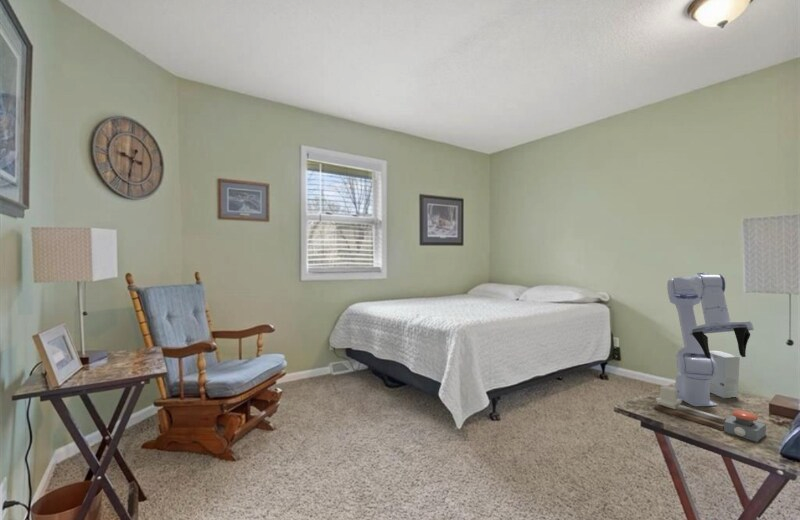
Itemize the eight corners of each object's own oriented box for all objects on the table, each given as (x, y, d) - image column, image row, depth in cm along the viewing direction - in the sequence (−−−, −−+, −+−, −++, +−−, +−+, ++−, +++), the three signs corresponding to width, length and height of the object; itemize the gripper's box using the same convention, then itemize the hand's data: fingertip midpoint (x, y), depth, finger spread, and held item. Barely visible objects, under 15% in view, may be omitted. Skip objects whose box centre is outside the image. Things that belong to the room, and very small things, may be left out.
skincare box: (702, 390, 137) (702, 350, 137) (717, 389, 138) (717, 349, 137) (724, 399, 129) (724, 356, 128) (740, 397, 129) (740, 355, 129)
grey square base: (723, 431, 106) (723, 421, 106) (733, 425, 110) (733, 415, 110) (756, 442, 100) (756, 431, 100) (765, 434, 104) (765, 424, 104)
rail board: (654, 408, 123) (654, 401, 122) (663, 404, 126) (663, 397, 126) (722, 430, 107) (722, 422, 107) (731, 424, 110) (730, 417, 110)
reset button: (729, 424, 106) (729, 413, 106) (736, 419, 109) (736, 408, 109) (753, 431, 102) (753, 419, 101) (760, 426, 104) (760, 415, 104)
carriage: (655, 404, 122) (655, 388, 122) (664, 400, 125) (664, 384, 125) (673, 410, 118) (673, 392, 118) (681, 405, 121) (681, 388, 121)
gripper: (681, 310, 113) (688, 354, 107) (742, 302, 102) (755, 350, 96) (690, 318, 117) (697, 361, 111) (750, 311, 106) (763, 358, 100)
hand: (725, 356), depth 104 cm, fingers open, 7 cm apart
